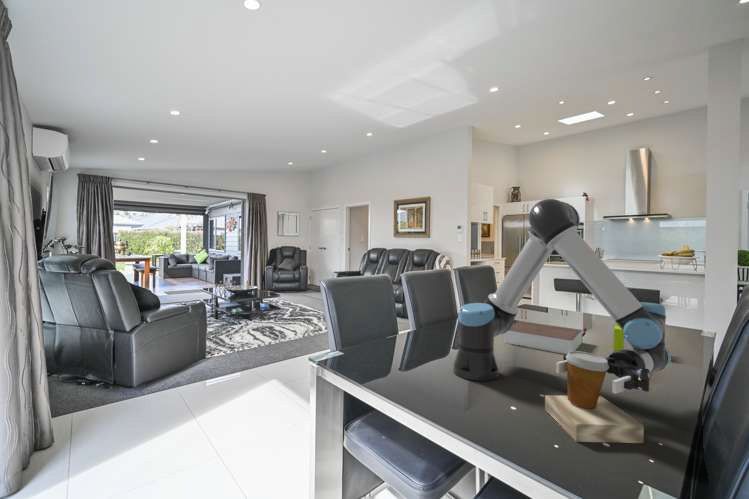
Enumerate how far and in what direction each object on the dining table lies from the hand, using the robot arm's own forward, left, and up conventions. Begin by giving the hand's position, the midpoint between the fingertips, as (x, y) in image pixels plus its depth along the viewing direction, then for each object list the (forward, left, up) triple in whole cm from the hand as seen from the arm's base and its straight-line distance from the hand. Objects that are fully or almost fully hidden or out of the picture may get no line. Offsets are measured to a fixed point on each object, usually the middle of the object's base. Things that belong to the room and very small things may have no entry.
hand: (583, 376), depth 84 cm
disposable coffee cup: (+2, +4, -8) cm, 10 cm away
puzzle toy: (+56, +64, -13) cm, 85 cm away
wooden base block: (+3, +2, -12) cm, 13 cm away
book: (+25, +75, -13) cm, 80 cm away
